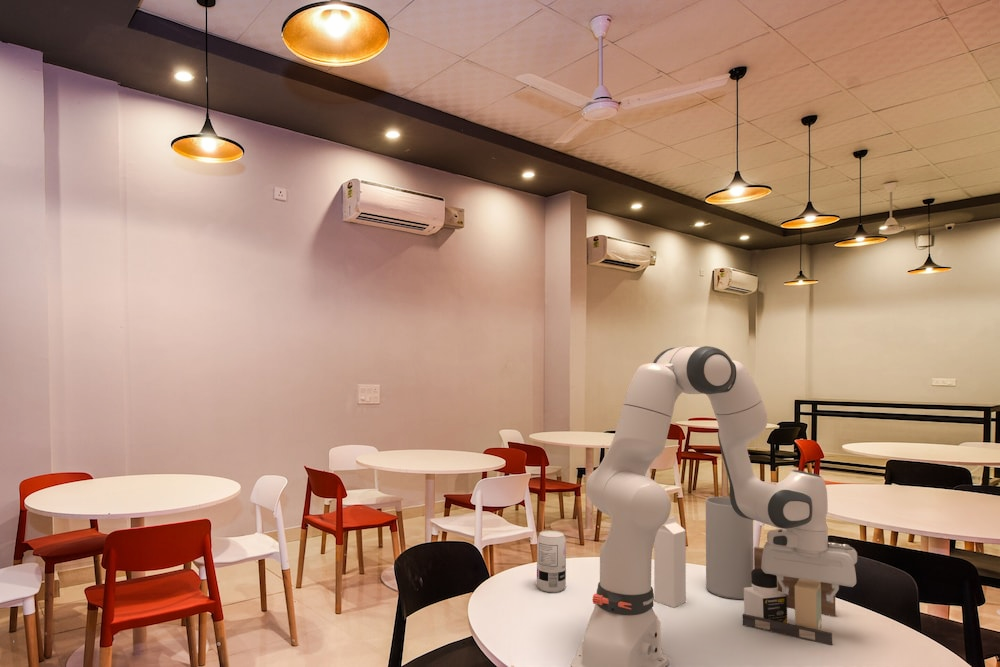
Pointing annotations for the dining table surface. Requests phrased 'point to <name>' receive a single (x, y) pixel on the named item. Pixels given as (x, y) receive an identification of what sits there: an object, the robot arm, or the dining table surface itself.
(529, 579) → the dining table surface
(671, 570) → the milk
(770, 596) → the medicine bottle
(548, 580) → the supplement can
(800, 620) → the carton
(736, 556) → the cylinder vase
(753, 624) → the brown flat boards
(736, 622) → the dining table surface
